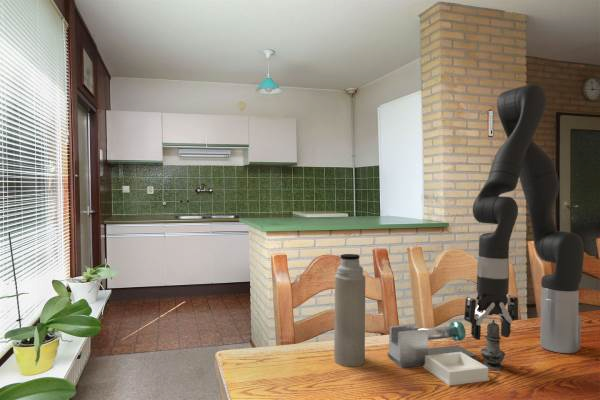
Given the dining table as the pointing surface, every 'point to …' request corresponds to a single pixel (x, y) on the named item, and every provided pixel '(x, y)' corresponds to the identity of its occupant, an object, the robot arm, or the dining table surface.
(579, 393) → the dining table surface
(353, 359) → the thermos bottle
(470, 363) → the holder
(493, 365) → the dark grey turned piece
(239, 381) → the dining table surface
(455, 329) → the shaft
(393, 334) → the bearing block
